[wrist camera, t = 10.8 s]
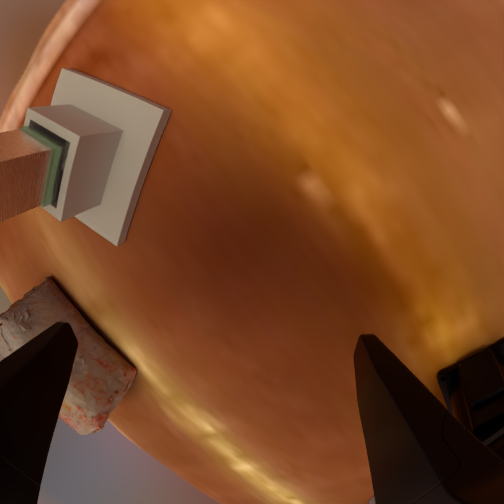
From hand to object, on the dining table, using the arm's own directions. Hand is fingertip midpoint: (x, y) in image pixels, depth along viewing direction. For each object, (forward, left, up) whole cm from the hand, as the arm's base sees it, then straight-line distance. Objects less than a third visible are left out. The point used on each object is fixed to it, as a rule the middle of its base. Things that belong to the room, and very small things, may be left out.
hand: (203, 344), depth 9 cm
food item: (0, +23, -11) cm, 25 cm away
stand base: (+11, +8, -11) cm, 18 cm away
